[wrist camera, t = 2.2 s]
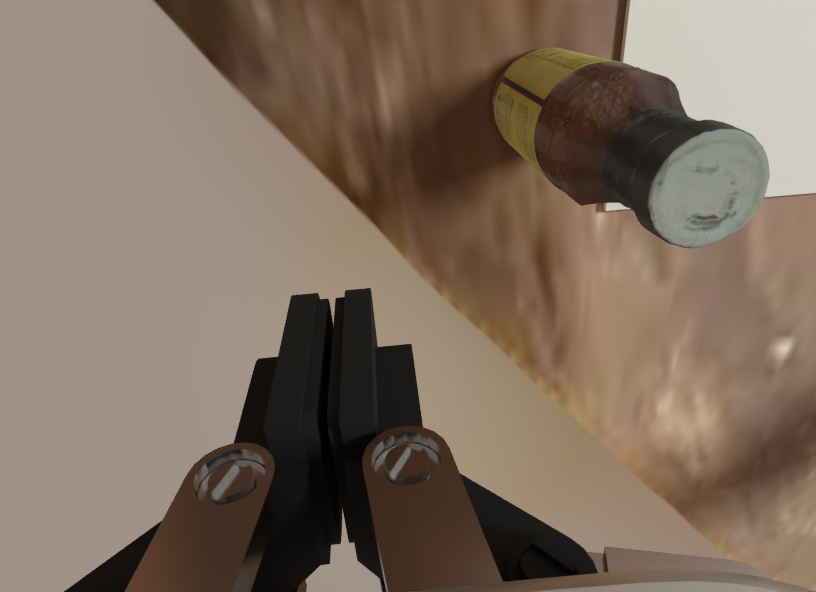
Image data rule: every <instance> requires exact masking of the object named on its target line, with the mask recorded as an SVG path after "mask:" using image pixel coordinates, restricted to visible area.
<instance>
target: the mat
mask: <svg viewBox="0 0 816 592" xmlns="http://www.w3.org/2000/svg"><path fill="white" fill-rule="evenodd" d="M620 62H622V63H626V64H629V65H631V66H633V67H639V68H640V69H643V70H647V71H649V72H652V73H655V74H658V75H662V76H665V77H668V78H669V79H670V80H671V81H672V82H673V83H675V85H676V87H677V89H678V91H679V96H680V100H681V103H682V106H683V108H684V110H685V112H686V114H687V116H689V117H690V118H692V119H695V120H697V121H700V120H715V121H719V122H724V123H727V124H729V125H732V126H734V127H736V128H738V129H741V130H744V131H746V132H748V133H750V134H752V135H753V136H754V137H755V138H756V139H757V141H758V142H759V143H760V144H761V145H762V146H763V148H764V150H765V152H766V155H767V159H768V163H769V173H770V177H769V182H768V186H767V190H766V193H765V197H773V196H785V195H796V194H808V193H816V0H627V4H626V13H625V21H624V30H623V39H622V48H621V56H620ZM603 209H604V210H605V211H611V210H622V209H630V208H627V207H625V206H623V205H622V204H620V203H604V204H603Z"/></svg>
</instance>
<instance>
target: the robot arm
mask: <svg viewBox="0 0 816 592" xmlns="http://www.w3.org/2000/svg"><path fill="white" fill-rule="evenodd" d="M342 508H343V513H344V518H345V523H346V529H347V534H348V540H349V543H353V542H354V543H355V548H356V554H357V559H358V561H359V562H360V563H361V564H363V565H364V566H365V567H366V568H368V569H369V570H370V571H371V572H373V573H374V574H375V575H377V576H378V577H379V578H380V585H381V591H382V592H815V591H812V590H809V589H806V588H803V587H799V586H795V585H791V584H787V583H783V582H779V581H775V580H773V579H772V578H771V577H770V576H769V575H767V574H765V573H764V572H762V571H760V570H758V569H756V568H755V567H753V566H751V565H749V564H745V563H741V562H737V561H733V560H727V559H716V558H708V557H698V556H689V555H679V554H669V553H660V552H650V551H640V550H631V549H621V548H611V547H605V549H604V554H601V553H592V552H586V551H585V550H584V548H583V547H581V546H580V545H579V544H577V543H576V542H575V541H573V540H572V539H571V538H569V537H567V536H566V535H564V534H562V533H561V532H559V531H557V530H555V529H554V528H552V527H550V526H549V525H547V524H545V523H544V522H542V521H540V520H538V519H537V518H535V517H533V516H532V515H530V514H528V513H526V512H525V511H523V510H521V509H520V508H518V507H516V506H514V505H513V504H511V503H509V502H508V501H506V500H504V499H502V498H501V497H499V496H497V495H496V494H494V493H492V492H491V491H489V490H487V489H485V488H484V487H482V486H480V485H479V484H477V483H475V482H473V481H472V480H470V479H468V478H467V477H465V476H463V475H462V474H460V473H459V471H458V468H457V466H456V463H455V461H454V458H453V456H452V453H451V451H450V448H449V447H448V445H447V443H446V442H445V440H444V439H443V438H442V437H441V436H439V435H438V434H437V433H435V432H434V431H431V430H429V429H426V428H423V425H422V418H421V411H420V404H419V396H418V388H417V381H416V374H415V367H414V359H413V352H412V346H411V344H405V345H395V346H385V347H377V338H376V329H375V321H374V312H373V303H372V295H371V288H366V289H356V290H346V291H345V297H342V298H336V302H335V315H334V327H333V321H332V315H331V309H330V303H329V300H328V299H320V298H319V295H318V293H314V294H303V295H293V296H291V300H290V304H289V309H288V314H287V319H286V323H285V327H284V332H283V337H282V342H281V346H280V351H279V355H278V357H271V358H262V359H258V360H257V361H256V364H255V367H254V371H253V375H252V378H251V382H250V385H249V389H248V393H247V397H246V400H245V404H244V408H243V411H242V415H241V419H240V422H239V427H238V430H237V433H236V437H235V441H234V444H230V445H226V446H223V447H220V448H218V449H215V450H214V451H212V452H210V453H208V454H207V455H205V456H204V457H202V458H201V459H200V460H199V461H198V462H197V463H195V464H194V466H193V467H192V468H191V470H190V471H189V472H188V474H187V476H186V477H185V479H184V481H183V483H182V485H181V487H180V489H179V491H178V492H177V494H176V496H175V498H174V500H173V502H172V503H171V505H170V507H169V509H168V511H167V513H166V515H165V517H164V519H163V520H162V521H161V522H160V523H158V524H157V525H155V526H154V527H153V528H151V529H150V530H148V531H147V532H146V533H144V534H143V535H142V536H140V537H139V538H138V539H136V540H135V541H133V542H132V543H131V544H129V545H128V546H127V547H125V548H124V549H122V550H121V551H119V552H118V553H117V554H115V555H114V556H113V557H111V558H110V559H108V560H107V561H106V562H105V563H103V564H102V565H100V566H99V567H97V568H96V569H95V570H93V571H92V572H91V573H89V574H88V575H86V576H85V577H84V578H82V579H81V580H80V581H78V582H77V583H76V584H74V585H73V586H71V587H70V588H69V589H67V590H66V591H64V592H306V588H307V584H306V580H305V579H306V578H307V577H308V576H309V575H310V574H312V573H313V572H314V571H315V570H316V569H317V568H318V567H319V566H320V565H324V564H330V550H331V545H333V544H340V543H341V533H342Z"/></svg>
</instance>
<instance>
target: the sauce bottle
mask: <svg viewBox="0 0 816 592" xmlns="http://www.w3.org/2000/svg"><path fill="white" fill-rule="evenodd" d="M492 102H493V118H494V121H495V124H496V126H497V127H498V128H499V130H500V133H501V134H502V136H503V138H504V139H505V140H506V141H507V143H508V144H509V145H511V146H512V147H513V148H514V149H515V150H516V151H517V152H518V153H519V154H520V155H521V156H522V157H523V158H525V159H526V160H527V161H528V162H529V163H530V164H531V165H532V166H533V167H534V168H535V169H536V170H537V171H539V172H540V173H541V174H542V175H543V176H544V177H545V178H546V179H548V180H549V181H550V182H551V183H552V184H553V185H554V186H555V187H557V188H558V189H560V190H562V191H564V192H565V193H566V194H567V195H568V196H569V197H571V198H572V199H573V200H575V202H577V203H578V204H580V205H588V204H596V203H620V204H622V205H623V206H625V207H627V208H630V209H632V210H633V211H635V214H636V216H637V219H638V221H639V222H640V224H641V225H642V226H643V227H644V228H646V229H647V230H648V231H650V232H652V233H653V234H654V235H656V236H658V237H659V238H661V239H663V240H664V241H666V242H667V243H669V244H673V245H676V246H680V247H684V248H697V247H701V246H706V245H710V244H713V243H715V242H718V241H721V240H722V239H724V238H726V237H728V236H730V235H732V234H733V233H735V232H737V231H738V230H739V229H740V228H741V227H742V226H743V225H745V224H746V223H748V222H749V221H750V219H751V218H752V217H753V216H754V215H755V213H756V212H757V210H758V209H759V207H760V205H761V203H762V202H763V200H764V197H765V193H766V190H767V186H768V182H769V177H770V173H769V163H768V159H767V155H766V152H765V150H764V148H763V146H762V145H761V144H760V143H759V142H758V141H757V139H756V138H755V137H754V136H753V135H752V134H750V133H748V132H746V131H744V130H741V129H738V128H736V127H734V126H732V125H729V124H727V123H724V122H719V121H715V120H700V121H697V120H695V119H692V118H690V117H689V116H687V114H686V112H685V110H684V108H683V106H682V103H681V100H680V96H679V91H678V89H677V87H676V85H675V83H673V82H672V81H671V80H670V79H669V78H668V77H665V76H662V75H658V74H655V73H652V72H649V71H647V70H643V69H640V68H639V67H633V66H631V65H629V64H626V63H622V62H618V61H613V60H608V59H604V58H599V57H594V56H590V55H585V54H581V53H577V52H573V51H569V50H565V49H561V48H544V49H540V50H533V51H528V52H525V53H524V54H523V55H522V56H520V57H519V58H517V59H516V60H514V61H513V62H512V63H511V64H510V65H509V66H508V67H507V68H506V70H505V71H504V72H503V73H502V74H501V76H500V77H499V79H498V80H497V82H496V85H495V88H494V91H493V98H492Z"/></svg>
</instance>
